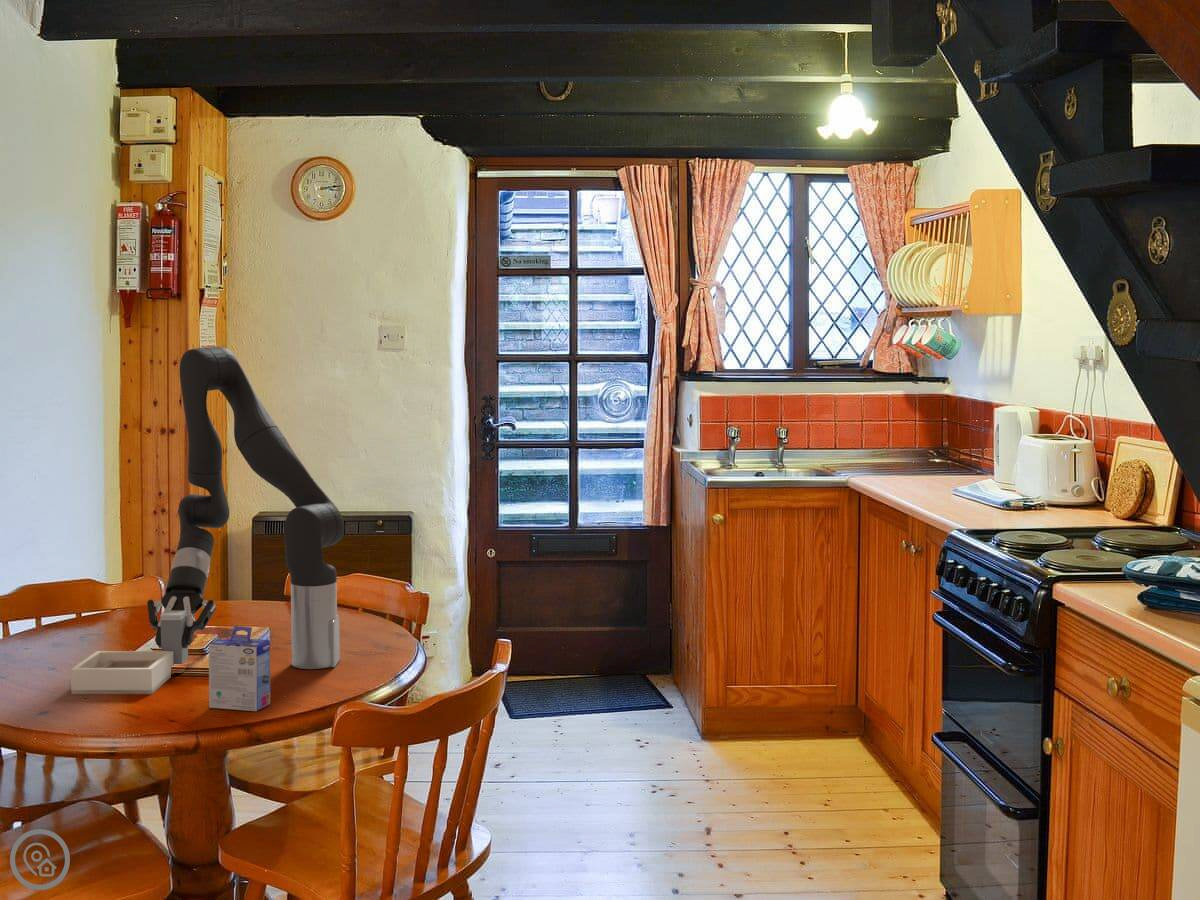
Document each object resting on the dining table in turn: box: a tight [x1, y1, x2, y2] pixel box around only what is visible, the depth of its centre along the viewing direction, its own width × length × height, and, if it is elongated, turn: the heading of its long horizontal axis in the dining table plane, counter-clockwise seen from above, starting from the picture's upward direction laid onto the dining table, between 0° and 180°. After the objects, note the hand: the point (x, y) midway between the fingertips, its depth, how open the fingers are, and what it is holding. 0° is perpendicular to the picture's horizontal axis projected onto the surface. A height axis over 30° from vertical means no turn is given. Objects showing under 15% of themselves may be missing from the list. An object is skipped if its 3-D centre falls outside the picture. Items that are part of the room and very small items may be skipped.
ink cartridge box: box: [208, 625, 272, 712], centre depth 219 cm, size 10×6×14 cm, turn 78°
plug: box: [159, 610, 189, 664], centre depth 242 cm, size 4×4×12 cm
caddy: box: [70, 650, 174, 695], centre depth 233 cm, size 15×13×5 cm
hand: (172, 645), depth 240 cm, fingers open, 4 cm apart
